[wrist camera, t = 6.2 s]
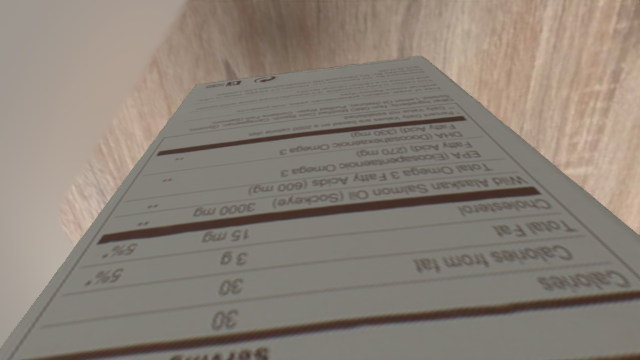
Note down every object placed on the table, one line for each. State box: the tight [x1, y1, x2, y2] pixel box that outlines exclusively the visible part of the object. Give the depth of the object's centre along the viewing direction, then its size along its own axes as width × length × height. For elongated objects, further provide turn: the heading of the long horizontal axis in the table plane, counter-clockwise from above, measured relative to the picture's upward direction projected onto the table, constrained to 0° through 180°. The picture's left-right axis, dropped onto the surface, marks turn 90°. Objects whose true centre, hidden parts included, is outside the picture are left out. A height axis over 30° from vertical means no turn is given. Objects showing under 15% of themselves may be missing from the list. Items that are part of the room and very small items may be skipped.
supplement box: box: [0, 56, 640, 360], centre depth 8 cm, size 7×7×13 cm
